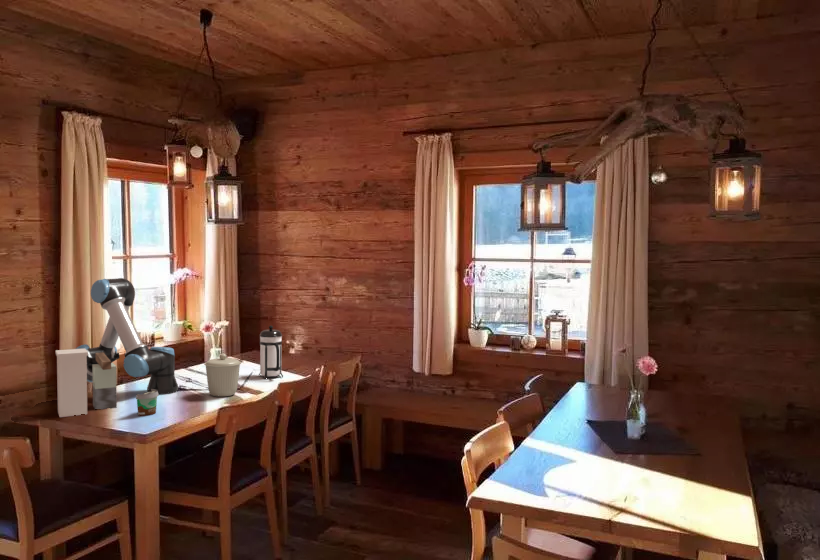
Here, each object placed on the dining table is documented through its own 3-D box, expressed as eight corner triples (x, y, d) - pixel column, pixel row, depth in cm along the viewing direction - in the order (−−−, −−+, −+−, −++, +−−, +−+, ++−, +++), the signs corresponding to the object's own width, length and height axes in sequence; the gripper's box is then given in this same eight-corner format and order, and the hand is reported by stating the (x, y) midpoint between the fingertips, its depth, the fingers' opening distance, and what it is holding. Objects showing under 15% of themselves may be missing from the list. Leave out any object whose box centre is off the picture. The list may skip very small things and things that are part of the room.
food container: (148, 417, 293) (148, 395, 293) (136, 416, 294) (135, 394, 294) (164, 411, 305) (164, 389, 305) (152, 410, 306) (152, 388, 306)
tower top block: (113, 383, 318) (113, 362, 317) (116, 387, 309) (116, 366, 309) (92, 384, 313) (92, 364, 313) (95, 389, 305) (94, 368, 304)
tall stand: (85, 408, 308) (85, 348, 306) (88, 414, 297) (87, 352, 296) (56, 411, 301) (55, 350, 300) (58, 417, 291) (57, 354, 290)
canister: (240, 398, 332) (240, 356, 331) (202, 399, 328) (202, 357, 327) (241, 390, 350) (241, 350, 349) (205, 391, 346) (205, 351, 345)
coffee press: (251, 378, 379) (251, 326, 377) (266, 373, 394) (266, 323, 392) (278, 381, 374) (278, 328, 372) (292, 375, 389) (292, 324, 387)
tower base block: (113, 403, 318) (113, 383, 318) (116, 407, 310) (116, 387, 309) (92, 405, 314) (92, 384, 313) (95, 410, 305) (95, 389, 305)
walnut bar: (103, 359, 326) (103, 352, 326) (111, 369, 302) (111, 361, 302) (95, 360, 324) (95, 352, 324) (102, 369, 300) (102, 362, 300)
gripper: (121, 371, 343) (127, 356, 326) (68, 375, 330) (71, 360, 313) (120, 357, 345) (125, 342, 329) (67, 361, 333) (70, 345, 316)
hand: (99, 351), depth 321 cm, fingers open, 12 cm apart
